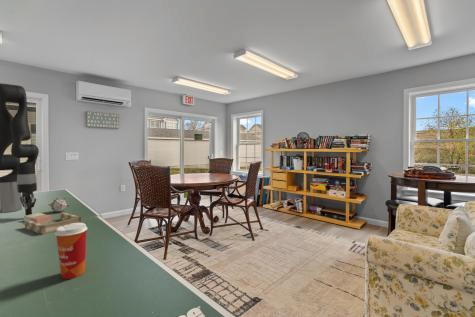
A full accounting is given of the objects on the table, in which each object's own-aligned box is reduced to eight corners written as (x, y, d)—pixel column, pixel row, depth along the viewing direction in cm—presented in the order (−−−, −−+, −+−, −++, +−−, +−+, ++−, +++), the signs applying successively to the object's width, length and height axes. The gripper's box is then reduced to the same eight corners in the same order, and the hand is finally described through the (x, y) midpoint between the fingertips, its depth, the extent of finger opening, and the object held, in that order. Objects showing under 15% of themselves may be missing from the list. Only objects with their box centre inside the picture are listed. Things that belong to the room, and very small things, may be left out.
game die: (63, 217, 136) (75, 203, 138) (51, 216, 128) (64, 201, 130) (54, 209, 138) (65, 194, 140) (41, 207, 130) (53, 192, 132)
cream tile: (24, 221, 118) (24, 215, 118) (38, 218, 123) (38, 212, 123) (30, 223, 116) (30, 217, 115) (45, 219, 121) (44, 214, 121)
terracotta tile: (30, 223, 115) (30, 217, 115) (45, 220, 120) (44, 214, 120) (37, 225, 112) (37, 219, 112) (51, 221, 118) (51, 215, 117)
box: (24, 228, 107) (24, 220, 107) (63, 219, 121) (62, 212, 121) (42, 234, 99) (42, 226, 99) (81, 224, 113) (81, 216, 112)
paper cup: (51, 277, 66) (48, 228, 66) (80, 264, 73) (78, 220, 72) (66, 284, 63) (63, 233, 62) (95, 270, 69) (93, 224, 69)
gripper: (12, 182, 122) (14, 215, 123) (23, 184, 115) (25, 219, 116) (30, 180, 128) (32, 212, 129) (41, 182, 122) (43, 215, 123)
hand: (28, 215), depth 123 cm, fingers closed
